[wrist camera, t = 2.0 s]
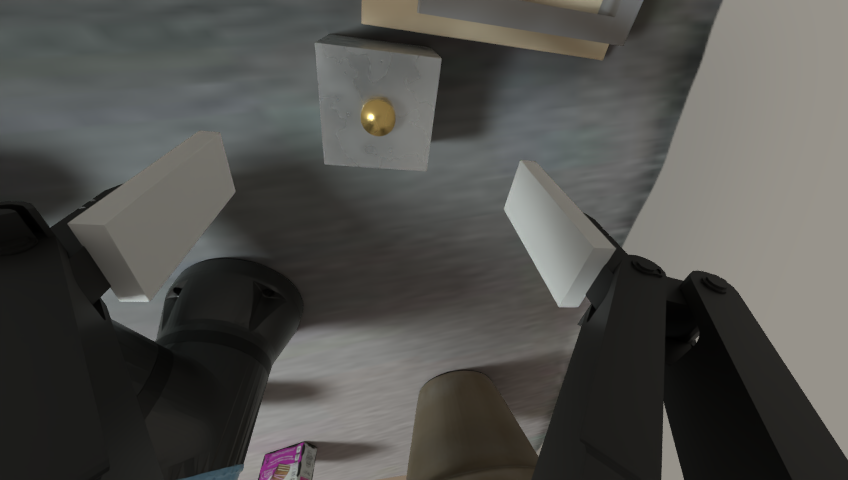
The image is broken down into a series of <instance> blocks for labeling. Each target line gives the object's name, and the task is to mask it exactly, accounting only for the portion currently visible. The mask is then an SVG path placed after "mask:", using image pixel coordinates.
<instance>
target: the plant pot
mask: <svg viewBox="0 0 848 480" xmlns="http://www.w3.org/2000/svg"><path fill="white" fill-rule="evenodd" d="M538 458H539V457H538V455H537V454H536V452H535V450H534V449H533V447H532V445H531V444H530V442H529V440H528V439H527V437H526V436H525V434H524V432H523V431H522V429H521V427H520V426H519V424H518V422H517V421H516V419H515V417H514V416H513V414H512V413H511V411H510V409H509V408H508V406H507V404H506V403H505V401H504V399H503V398H502V396H501V394H500V393H499V391H498V390H497V388H496V387H495V385H494V384H493V383H492V381H491V380H490V379H489V378H488V377H487V376H486V375H484V374H482V373H479V372H475V371H454V372H450V373H446V374H443V375H440V376H437V377H435V378H433V379H432V380H430V381H428V382H427V383H426V384H425V385H424V386H423V387H422V389H421V390H420V393H419V397H418V403H417V408H416V415H415V422H414V429H413V436H412V443H411V449H410V456H409V463H408V470H407V478H406V480H531V479H532V476H533V473H534V470H535V467H536V464H537V461H538Z"/></svg>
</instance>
